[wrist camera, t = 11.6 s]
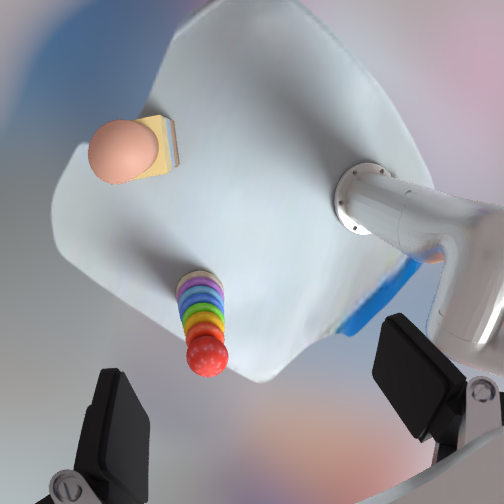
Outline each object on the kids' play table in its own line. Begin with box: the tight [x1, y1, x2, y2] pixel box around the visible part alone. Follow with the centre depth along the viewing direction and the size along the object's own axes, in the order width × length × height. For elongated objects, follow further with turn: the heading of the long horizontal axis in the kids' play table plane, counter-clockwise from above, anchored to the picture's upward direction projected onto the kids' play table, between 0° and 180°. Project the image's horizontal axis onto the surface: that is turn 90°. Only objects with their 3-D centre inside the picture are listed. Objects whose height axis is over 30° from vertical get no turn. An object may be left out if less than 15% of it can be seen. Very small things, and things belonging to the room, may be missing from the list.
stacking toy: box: [176, 271, 228, 377], centre depth 40 cm, size 8×8×19 cm
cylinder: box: [88, 120, 159, 184], centre depth 22 cm, size 5×5×6 cm
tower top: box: [131, 115, 172, 180], centre depth 27 cm, size 6×6×5 cm
